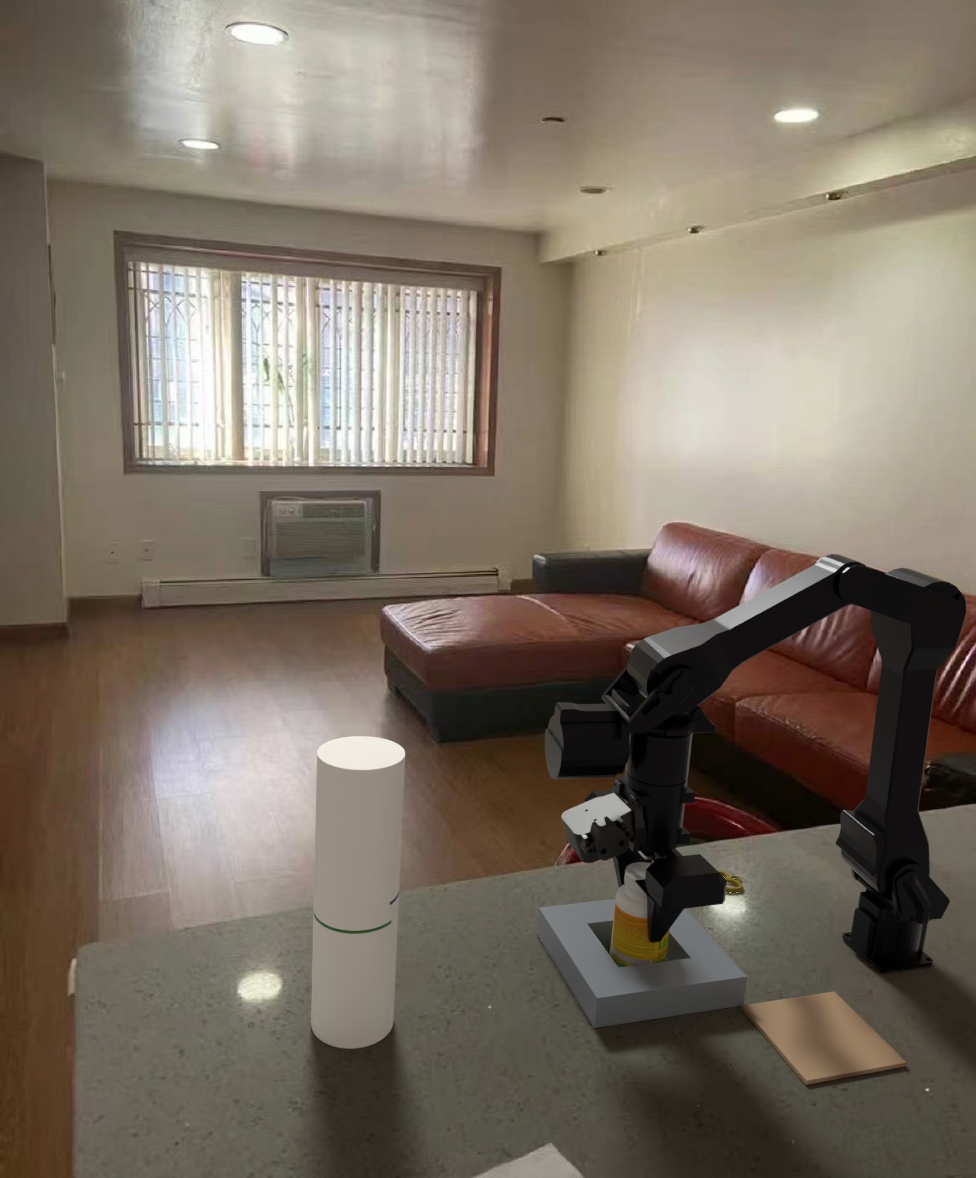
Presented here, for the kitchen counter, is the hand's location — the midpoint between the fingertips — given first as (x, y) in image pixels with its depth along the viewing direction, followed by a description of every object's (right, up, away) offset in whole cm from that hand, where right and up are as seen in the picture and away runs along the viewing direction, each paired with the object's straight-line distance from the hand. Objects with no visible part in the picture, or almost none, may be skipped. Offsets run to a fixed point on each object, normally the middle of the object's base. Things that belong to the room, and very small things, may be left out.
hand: (641, 924), depth 95 cm
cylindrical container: (-27, -6, -9) cm, 29 cm away
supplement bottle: (0, -4, +1) cm, 4 cm away
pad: (+15, -7, -7) cm, 18 cm away
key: (+9, -2, +17) cm, 20 cm away
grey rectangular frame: (0, -5, +1) cm, 5 cm away
